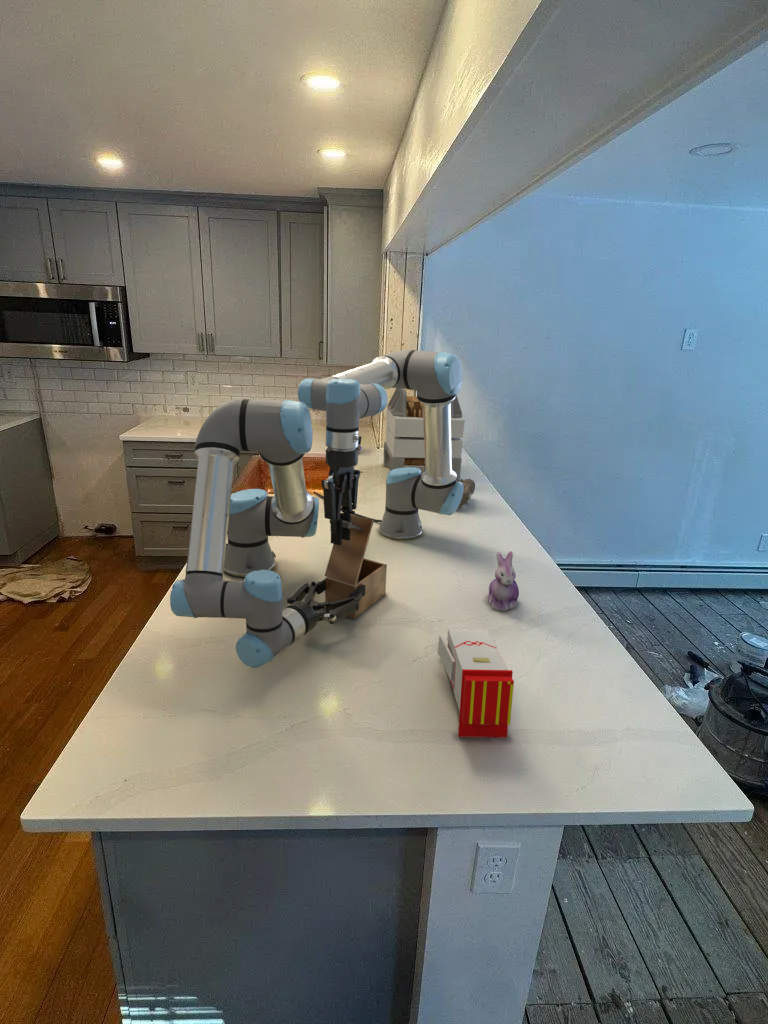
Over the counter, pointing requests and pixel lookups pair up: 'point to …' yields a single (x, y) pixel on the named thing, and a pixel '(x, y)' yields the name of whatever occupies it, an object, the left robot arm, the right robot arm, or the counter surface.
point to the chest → (369, 576)
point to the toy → (478, 682)
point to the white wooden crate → (416, 433)
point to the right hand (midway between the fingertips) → (340, 541)
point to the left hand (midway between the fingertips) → (348, 584)
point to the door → (350, 551)
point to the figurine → (503, 584)
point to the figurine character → (359, 443)
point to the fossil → (466, 491)
